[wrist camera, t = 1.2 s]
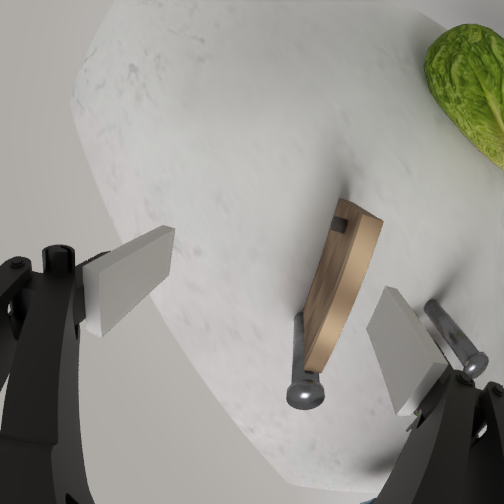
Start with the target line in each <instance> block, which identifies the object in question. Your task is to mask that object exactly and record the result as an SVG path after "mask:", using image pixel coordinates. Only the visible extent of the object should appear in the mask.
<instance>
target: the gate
mask: <svg viewBox="0 0 504 504" xmlns="http://www.w3.org/2000/svg"><path fill="white" fill-rule="evenodd" d="M383 222H384V221H382V220H381V219H379V218H377V217H375V216H374V215H372V214H371V213H369V212H367V211H366V210H364V209H363V208H361V207H359V206H358V205H356V204H354V203H353V202H350V201H347V200H344V199H340V198H339V201H338V204H337V208H336V211H335V215H334V217H333V220H332V223H331V228H330V232H329V235H328V238H327V241H326V245H325V248H324V251H323V254H322V257H321V260H320V263H319V266H318V269H317V272H316V275H315V278H314V281H313V284H312V287H311V290H310V293H309V296H308V299H307V302H306V304H305V307H304V310H303V315H304V357H305V361H304V370H307V371H312V372H317V373H322V371H323V369H324V367H325V365H326V363H327V361H328V359H329V357H330V355H331V353H332V351H333V349H334V347H335V345H336V343H337V340H338V338H339V336H340V334H341V332H342V330H343V327H344V325H345V323H346V321H347V318H348V316H349V314H350V311H351V309H352V307H353V304H354V302H355V299H356V297H357V294H358V292H359V289H360V287H361V284H362V282H363V279H364V277H365V274H366V271H367V269H368V266H369V263H370V260H371V258H372V255H373V252H374V249H375V246H376V243H377V240H378V237H379V234H380V231H381V228H382V225H383Z"/></svg>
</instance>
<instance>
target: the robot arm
mask: <svg viewBox="0 0 504 504" xmlns="http://www.w3.org/2000/svg"><path fill="white" fill-rule="evenodd" d="M174 235H175V228H171V227H168V226H164V225H162V226H160V227H158V228H156V229H154V230H152V231H150V232H148V233H146V234H144V235H142V236H140V237H138V238H136V239H134V240H132V241H130V242H128V243H126V244H124V245H122V246H120V247H118V248H117V249H114V250H112V251H107V252H102V253H100V254H98V255H96V256H94V258H93V257H92V258H90V259H88V261H87V260H86V261H84V262H83V263H81V264H79V265H77V266H75V250H74V249H73V248H72V247H70V246H67V245H52V246H48V247H46V248H44V249H43V250H42V258H43V273H38V272H34V271H32V266H31V261H30V259H28V258H25V257H21V256H18V257H17V256H16V257H13V258H11V259H9V260H7V261H5V262H4V263H3V264H2V265H1V266H0V391H1V389H2V387H3V385H4V383H5V381H6V379H7V377H8V375H9V373H10V375H9V379H8V384H7V390H6V395H5V401H4V408H3V415H2V424H1V430H0V504H95V503H94V500H93V498H92V496H91V493H90V491H89V487H88V483H87V478H86V472H85V466H84V459H83V452H82V444H81V443H82V442H81V433H80V420H79V396H78V366H79V364H78V362H79V343H80V325H79V323H80V322H82V321H83V320H84V319H85V318H86V327H87V331H89V332H91V333H93V334H95V335H97V336H99V337H101V338H103V336H104V335H106V333H108V331H110V330H111V329H112V328H113V327H114V326H115V325H116V324H117V323H118V322H119V321H120V320H121V319H122V318H123V317H124V316H125V315H126V314H128V312H130V311H131V310H132V309H133V308H134V307H135V306H136V305H137V304H138V303H139V302H140V301H141V300H142V299H143V298H145V297H146V296H147V295H148V294H149V293H150V292H151V291H152V290H153V289H154V288H155V287H157V286H158V285H159V284H160V283H161V282H162V281H163V280H164V279H165V278H166V277H167V276H169V271H170V263H171V256H172V248H173V241H174ZM9 304H10V309H11V311H10V312H9V313H8V305H9ZM366 329H367V331H368V334H369V337H370V339H371V342H372V345H373V348H374V350H375V353H376V356H377V359H378V362H379V364H380V367H381V370H382V373H383V376H384V379H385V382H386V385H387V388H388V391H389V394H390V398H391V401H392V404H393V407H394V411H395V414H396V415H403V416H411V415H412V413H413V412H414V411H415V410H416V409H417V407H418V406H420V409H421V411H422V412H421V413H420V415H419V416H418V417H417V418H416V419H415V421H414V422H413V423H412V424H411V425H410V426H409V427H408V429H407V430H406V431H407V432H408V431H409V430H410V429H412V430H411V432H410V435H409V437H408V439H407V442H406V444H405V446H404V448H403V450H402V453H401V455H400V457H399V459H398V461H397V463H396V465H395V467H394V469H393V470H392V472H391V474H390V476H389V478H388V480H387V482H386V483H385V485H384V487H383V489H382V490H381V492H380V494H379V495H378V497H377V498H374V499H372V500H370V501H366V502H362V503H360V504H504V388H503V386H502V385H500V384H499V383H498V384H497V383H495V382H489V383H488V384H487V385H486V387H485V388H484V389H483V390H480V389H477V388H475V383H474V380H473V379H472V378H471V377H470V376H469V375H468V374H466V373H465V372H463V371H460V370H454V369H453V368H452V366H451V364H450V363H449V361H448V360H447V358H446V356H444V353H443V352H442V350H441V349H440V347H439V346H438V344H437V343H436V342H435V341H434V340H433V339H432V338H431V336H430V335H429V333H428V332H427V330H426V329H425V327H424V326H423V324H422V323H421V321H420V320H419V319H418V317H417V316H416V314H415V313H414V311H413V310H412V309H411V307H410V306H409V304H408V303H407V302H406V300H405V299H404V298H403V296H402V295H401V294H400V292H399V291H398V290H397V289H395V288H391V287H388V286H385V288H384V291H383V293H382V295H381V298H380V300H379V302H378V305H377V307H376V309H375V311H374V313H373V316H372V318H371V320H370V322H369V324H368V326H367V328H366ZM486 424H487V430H486V432H485V433H484V434H483V435H482V436H481V437H480V438H479V436H478V433H479V432H480V431H481V430H482V429H483V428H484V427H485V426H486Z"/></svg>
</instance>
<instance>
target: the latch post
mask: <svg viewBox="0 0 504 504" xmlns="http://www.w3.org/2000/svg"><path fill="white" fill-rule="evenodd" d="M424 311H425V313H426V314H427V316H428V317H429V318H430V320H431V321H432V322H433V324H434V325H435V326H436V328H437V329H438V330H439V332H440V333H441V334H442V336H443V337H444V339H445V340H446V341H447V343H448V344H449V346H450V347H451V349H452V350H453V351H454V353H455V354H456V356H457V357H458V359H459V360H460V362H461V363H462V365H463V366H464V369H463V372H465V373H466V374H468V375H469V376H470V377H471V378H472V379H474V378H476V377H478V376H479V375H480V374H482V372H483V371H484V370H485V369H486V367H487V365H488V362H489V359H488V357H487V356H486V354H485V353H484V352H479V351H478V350H477V349H476V347H475V346H474V345H473V344H472V342H471V341H470V340H469V339H468V337H467V336H466V335H465V334H464V332H463V331H462V330H461V329H460V328H459V326H458V325H457V324H456V323H455V322H454V321H453V319H452V318H451V317H450V316H449V315H448V314H447V312H446V311H445V310H444V309H443V308H442V307H441V306H440V305H439V303H438V302H437V301H436V300H430V301H428V302H427V303H426V305H425V307H424Z"/></svg>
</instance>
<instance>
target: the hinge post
mask: <svg viewBox="0 0 504 504" xmlns="http://www.w3.org/2000/svg"><path fill="white" fill-rule="evenodd" d="M304 361H305V357H304V315H303V312H300V313H298V314H297V315H296V316H295V318H294V341H293V365H292V384H291V385H290V386H289V387H288V389H287V397H286V399H287V402H288V404H289V405H290V406H292V407H293V408H296V409H299V410H309V409H313V408H316V407H318V406H319V405H320V404H321V403H322V402H323V401H324V398H325V395H324V388H323V386H322V385H321V384H320V382H319V373H317V372H312V371H307V370H304Z"/></svg>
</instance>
